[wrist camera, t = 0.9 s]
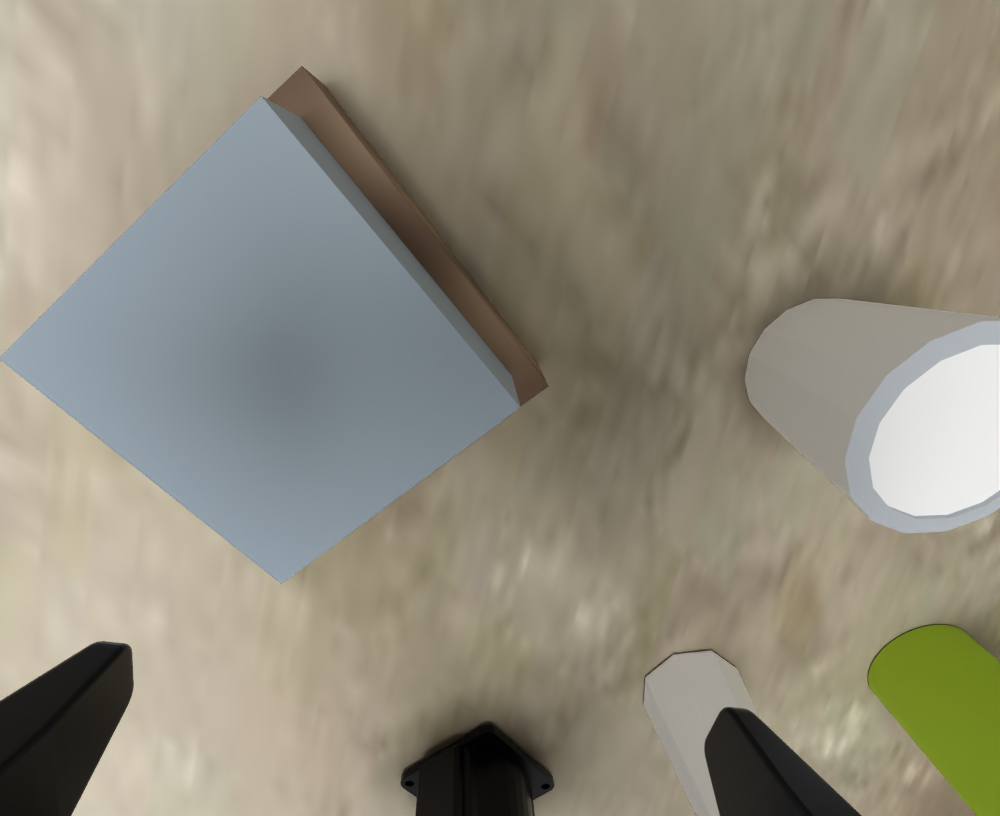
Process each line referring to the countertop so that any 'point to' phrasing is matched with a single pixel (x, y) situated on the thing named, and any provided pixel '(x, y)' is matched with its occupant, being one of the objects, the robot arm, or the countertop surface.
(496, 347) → the tower base
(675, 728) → the pepper shaker
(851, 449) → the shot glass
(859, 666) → the countertop surface
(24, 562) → the countertop surface
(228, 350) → the tower top
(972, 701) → the soap dispenser
